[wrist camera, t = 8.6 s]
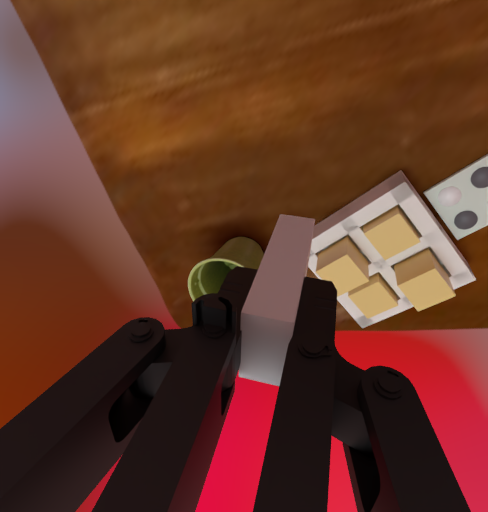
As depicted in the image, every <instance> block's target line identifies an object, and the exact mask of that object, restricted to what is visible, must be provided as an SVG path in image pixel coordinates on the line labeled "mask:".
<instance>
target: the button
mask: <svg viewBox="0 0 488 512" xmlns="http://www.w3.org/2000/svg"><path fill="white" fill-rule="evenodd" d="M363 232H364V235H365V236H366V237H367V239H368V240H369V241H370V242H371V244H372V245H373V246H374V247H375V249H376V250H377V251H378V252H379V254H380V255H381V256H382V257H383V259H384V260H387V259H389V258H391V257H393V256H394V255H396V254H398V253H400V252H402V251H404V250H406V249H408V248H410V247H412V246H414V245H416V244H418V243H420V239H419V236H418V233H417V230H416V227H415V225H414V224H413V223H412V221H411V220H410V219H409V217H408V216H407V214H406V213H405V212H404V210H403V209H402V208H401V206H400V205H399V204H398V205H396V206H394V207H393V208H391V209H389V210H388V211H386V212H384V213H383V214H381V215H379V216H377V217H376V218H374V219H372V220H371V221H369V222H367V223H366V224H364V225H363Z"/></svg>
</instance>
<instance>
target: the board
mask: <svg viewBox="0 0 488 512" xmlns="http://www.w3.org/2000/svg"><path fill="white" fill-rule="evenodd" d="M398 204H399V205H400V206H401V208H402V209H403V210H404V212H405V213H406V214H407V216H408V217H409V219H410V220H411V221H412V223H413V224H414V225H415V227H416V230H417V233H418V236H419V239H420V243H418V244H416V245H414V246H412V247H410V248H408V249H406V250H404V251H402V252H400V253H398V254H396V255H394V256H393V257H391V258H389V259H387V260H384V259H383V257H382V256H381V255H380V254H379V252H378V251H377V250H376V249H375V247H374V246H373V245H372V244H371V242H370V241H369V240H368V239H367V237H366V236H365V235H364V232H363V225H364V224H366V223H367V222H369V221H371V220H372V219H374V218H376V217H377V216H379V215H381V214H383V213H384V212H386V211H388V210H389V209H391V208H393V207H394V206H396V205H398ZM347 236H348V237H349V238H350V240H351V241H352V242H353V243H354V245H355V246H356V247H357V248H358V250H359V251H360V252H361V253H362V254H363V256H364V257H365V258H366V259H367V261H368V269H369V276H371V275H373V274H375V273H377V272H379V273H380V274H381V275H382V276H383V277H384V279H385V280H386V281H387V282H388V284H389V285H390V286H391V287H392V289H393V290H394V291H395V292H396V294H397V300H398V306H396V307H394V308H391V309H389V310H387V311H384V312H382V313H380V314H378V315H375V316H373V317H371V318H368V319H367V318H366V316H365V315H364V314H363V313H362V312H361V311H360V309H359V308H358V307H357V306H356V305H355V304H354V303H353V301H352V300H351V299H350V298H349V297H348V292H346V293H344V294H342V295H340V296H338V297H337V300H338V301H339V302H340V303H341V305H342V306H343V307H344V308H345V309H346V310H347V311H348V313H349V314H350V315H351V316H352V317H353V318H354V319H355V320H356V322H357V323H358V324H359V325H360V326H361V327H362V328H364V327H367V326H369V325H371V324H374V323H376V322H378V321H381V320H383V319H385V318H388V317H390V316H393V315H395V314H397V313H400V312H402V311H404V310H407V309H409V308H411V307H414V306H413V305H412V303H411V302H410V301H409V300H408V298H407V297H406V296H405V295H404V293H403V292H402V291H401V290H400V288H399V287H398V286H397V281H396V275H395V270H394V265H395V264H397V263H399V262H401V261H403V260H405V259H407V258H409V257H411V256H413V255H415V254H417V253H419V252H421V251H423V250H425V249H427V248H429V250H430V251H431V252H432V254H433V255H434V257H435V258H436V259H437V261H438V262H439V263H440V265H441V266H442V267H443V269H444V270H445V271H446V273H447V274H448V277H449V279H450V282H451V284H452V287H453V289H456V288H458V287H461V286H463V285H465V284H468V283H470V282H473V281H475V280H476V278H475V276H474V274H473V272H472V270H471V268H470V266H469V264H468V262H467V261H466V260H465V258H464V257H463V255H462V254H461V253H460V251H459V250H458V248H457V247H456V246H455V244H454V243H453V241H452V240H451V239H450V237H449V236H448V235H447V233H446V232H445V230H444V229H443V228H442V226H441V225H440V223H439V222H438V221H437V219H436V218H435V216H434V215H433V214H432V212H431V211H430V209H429V208H428V207H427V205H426V204H425V202H424V201H423V200H422V198H421V197H420V196H419V194H418V193H417V191H416V190H415V189H414V187H413V186H412V184H411V183H410V182H409V180H408V179H407V177H406V176H405V175H404V173H403V172H402V170H400V171H399V172H397V173H396V174H394V175H392V176H391V177H389V178H388V179H386V180H385V181H383V182H382V183H380V184H379V185H377V186H375V187H374V188H372V189H371V190H369V191H368V192H366V193H365V194H363V195H361V196H360V197H358V198H357V199H355V200H354V201H352V202H351V203H349V204H348V205H346V206H344V207H343V208H341V209H340V210H338V211H337V212H335V213H334V214H332V215H331V216H329V217H327V218H326V219H324V220H323V221H321V222H320V223H318V224H317V225H315V226H314V230H313V237H312V243H311V249H310V256H309V262H308V267H309V268H310V269H311V270H312V271H313V273H314V274H315V275H316V276H317V277H318V278H319V279H321V278H320V276H319V275H318V274H317V273H316V266H317V259H318V253H320V252H321V251H323V250H325V249H326V248H328V247H330V246H331V245H333V244H335V243H337V242H338V241H340V240H342V239H343V238H345V237H347ZM321 280H322V279H321Z"/></svg>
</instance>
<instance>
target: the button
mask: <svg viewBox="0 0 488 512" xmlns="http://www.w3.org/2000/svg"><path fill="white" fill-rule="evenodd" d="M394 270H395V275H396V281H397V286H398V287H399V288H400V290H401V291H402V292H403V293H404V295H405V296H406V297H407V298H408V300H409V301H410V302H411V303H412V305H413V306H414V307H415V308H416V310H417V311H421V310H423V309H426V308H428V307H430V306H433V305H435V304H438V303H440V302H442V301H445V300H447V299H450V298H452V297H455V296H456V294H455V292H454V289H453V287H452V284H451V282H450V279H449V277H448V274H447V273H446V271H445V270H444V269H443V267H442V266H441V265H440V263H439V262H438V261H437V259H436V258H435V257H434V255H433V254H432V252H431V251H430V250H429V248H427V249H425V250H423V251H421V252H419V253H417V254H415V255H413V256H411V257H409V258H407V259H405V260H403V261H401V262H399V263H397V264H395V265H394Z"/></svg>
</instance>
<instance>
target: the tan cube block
mask: <svg viewBox="0 0 488 512" xmlns="http://www.w3.org/2000/svg"><path fill="white" fill-rule="evenodd" d="M348 297H349V298H350V299H351V300H352V301H353V303H354V304H355V305H356V306H357V307H358V308H359V309H360V311H361V312H362V313H363V314H364V315H365V316H366V318H367V319H368V318H371V317H373V316H375V315H378V314H380V313H382V312H384V311H387V310H389V309H391V308H394V307H396V306H398V300H397V294H396V292H395V291H394V290H393V289H392V287H391V286H390V285H389V284H388V282H387V281H386V280H385V279H384V277H383V276H382V275H381V274H380V273H379V272H377V273H375V274H373V275H371V276H369V281H368V282H366V283H364V284H362V285H360V286H358V287H356V288H354V289H352V290H350V291H348Z"/></svg>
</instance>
